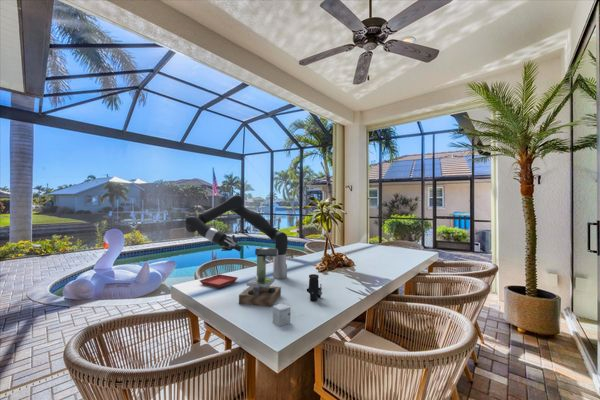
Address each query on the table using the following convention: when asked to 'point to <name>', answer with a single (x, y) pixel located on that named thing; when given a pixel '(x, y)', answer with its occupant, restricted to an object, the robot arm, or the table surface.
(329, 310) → the table surface
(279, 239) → the robot arm
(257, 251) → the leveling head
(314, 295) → the scope
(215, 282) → the plant saucer
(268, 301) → the wooden block with holes
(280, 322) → the skincare box
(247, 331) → the table surface
